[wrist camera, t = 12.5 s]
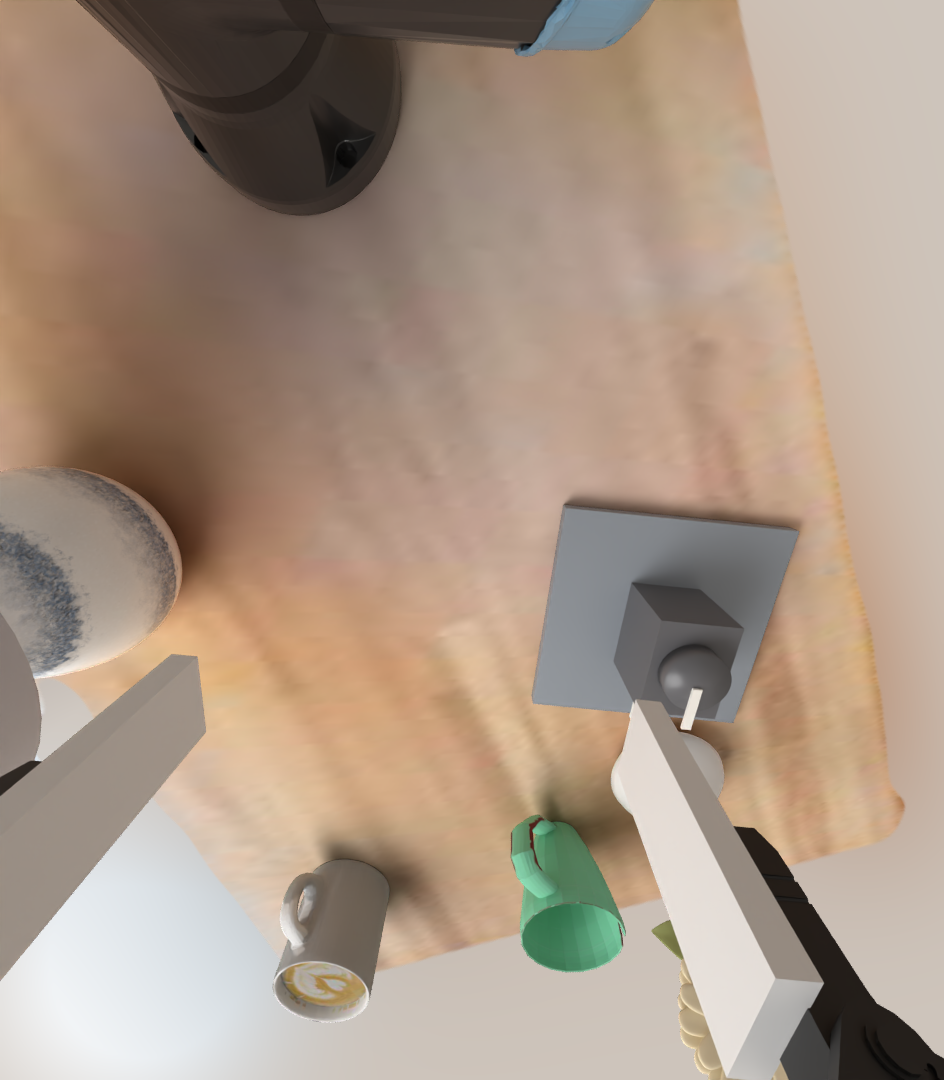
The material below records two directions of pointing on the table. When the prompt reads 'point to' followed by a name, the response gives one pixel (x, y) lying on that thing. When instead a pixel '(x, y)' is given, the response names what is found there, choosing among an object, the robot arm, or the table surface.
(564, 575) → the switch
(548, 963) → the mug
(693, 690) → the knob
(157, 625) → the lamp
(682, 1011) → the flower in vase
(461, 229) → the table surface
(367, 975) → the coffee mug
